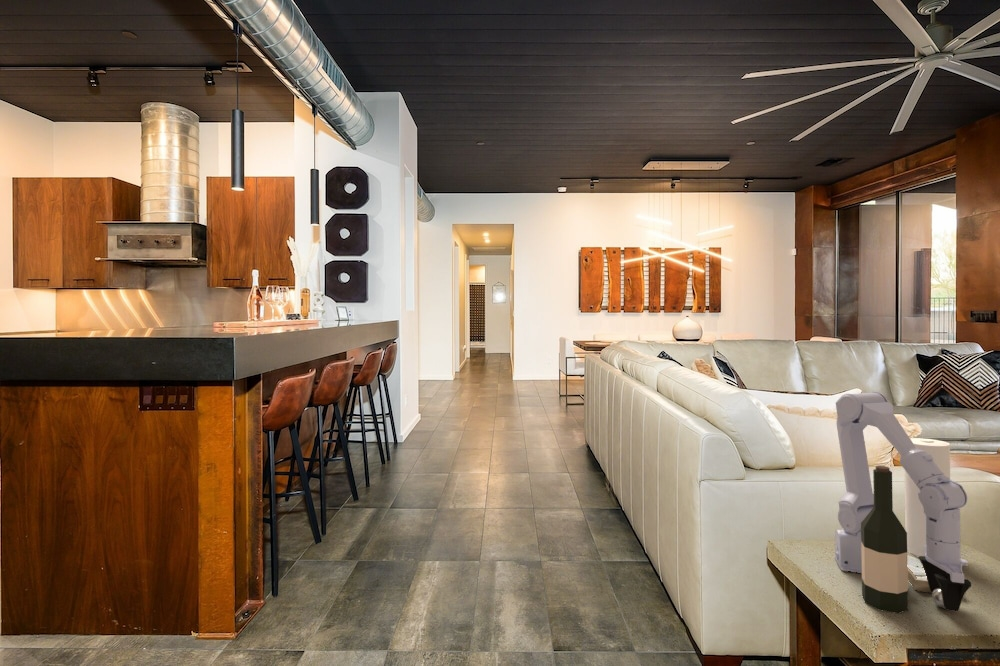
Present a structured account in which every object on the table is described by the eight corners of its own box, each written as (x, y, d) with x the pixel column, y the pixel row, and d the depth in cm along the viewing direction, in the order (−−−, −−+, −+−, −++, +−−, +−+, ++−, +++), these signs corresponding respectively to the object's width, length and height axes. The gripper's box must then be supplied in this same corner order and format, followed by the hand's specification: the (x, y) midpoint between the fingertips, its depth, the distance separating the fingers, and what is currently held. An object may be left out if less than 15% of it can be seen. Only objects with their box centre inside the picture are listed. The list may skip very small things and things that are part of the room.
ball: (936, 610, 113) (935, 591, 113) (928, 601, 117) (928, 583, 117) (959, 613, 112) (959, 594, 112) (951, 604, 116) (951, 586, 115)
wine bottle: (853, 593, 121) (851, 462, 121) (890, 593, 121) (888, 462, 120) (878, 613, 113) (876, 472, 112) (918, 613, 112) (916, 472, 112)
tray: (915, 590, 122) (915, 579, 121) (903, 574, 129) (903, 564, 129) (960, 596, 119) (960, 585, 118) (944, 579, 126) (944, 569, 126)
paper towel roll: (959, 562, 135) (957, 444, 134) (915, 558, 138) (913, 443, 137) (939, 547, 144) (938, 436, 143) (899, 544, 147) (897, 435, 146)
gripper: (982, 554, 106) (983, 621, 106) (951, 527, 119) (952, 587, 120) (939, 549, 109) (940, 615, 109) (913, 524, 122) (914, 583, 122)
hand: (943, 600), depth 114 cm, fingers open, 7 cm apart
